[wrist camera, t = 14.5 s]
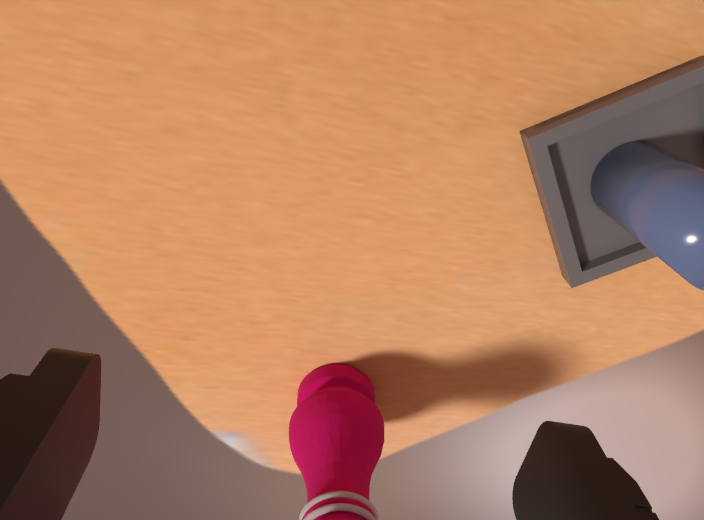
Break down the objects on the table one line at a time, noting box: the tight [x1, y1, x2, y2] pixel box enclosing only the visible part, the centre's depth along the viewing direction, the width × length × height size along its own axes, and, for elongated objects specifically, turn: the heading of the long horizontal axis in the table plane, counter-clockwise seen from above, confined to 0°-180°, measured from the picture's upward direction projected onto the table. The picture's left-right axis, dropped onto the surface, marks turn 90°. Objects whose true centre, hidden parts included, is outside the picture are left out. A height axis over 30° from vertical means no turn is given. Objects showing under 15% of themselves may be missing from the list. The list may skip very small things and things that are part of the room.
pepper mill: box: [289, 364, 384, 520], centre depth 39 cm, size 7×7×20 cm
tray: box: [520, 56, 704, 288], centre depth 40 cm, size 12×12×2 cm
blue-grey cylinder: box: [590, 141, 704, 290], centre depth 35 cm, size 5×5×11 cm
